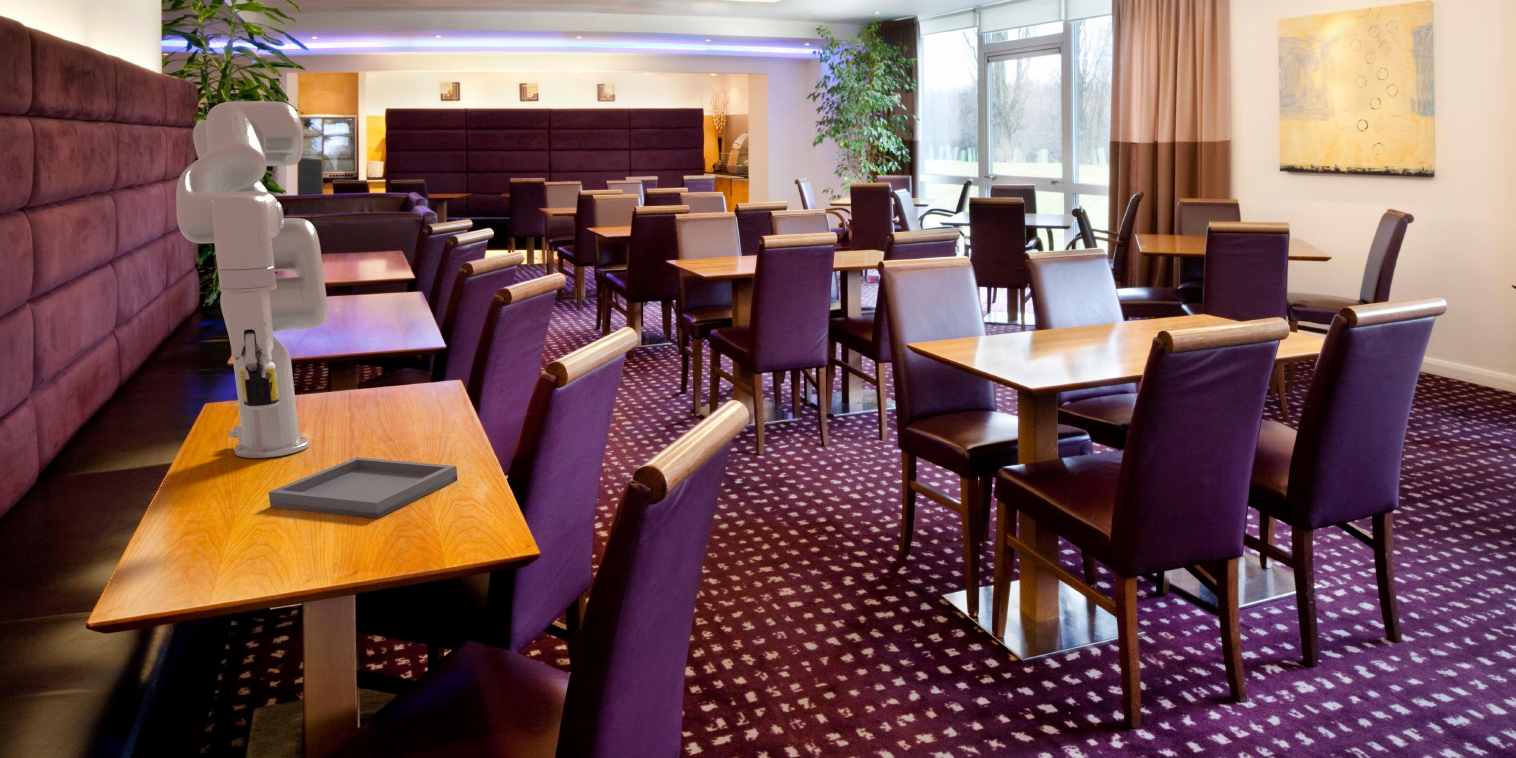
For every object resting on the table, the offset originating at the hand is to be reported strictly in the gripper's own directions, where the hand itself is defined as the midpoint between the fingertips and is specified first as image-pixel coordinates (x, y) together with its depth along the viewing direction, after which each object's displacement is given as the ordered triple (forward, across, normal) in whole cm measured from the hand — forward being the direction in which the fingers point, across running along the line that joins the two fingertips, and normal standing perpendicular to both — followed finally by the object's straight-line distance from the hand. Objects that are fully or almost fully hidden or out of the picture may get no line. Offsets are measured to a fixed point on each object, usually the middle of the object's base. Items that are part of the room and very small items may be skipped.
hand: (261, 399), depth 158 cm
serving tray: (+17, -3, +13) cm, 22 cm away
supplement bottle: (+1, 0, 0) cm, 1 cm away
